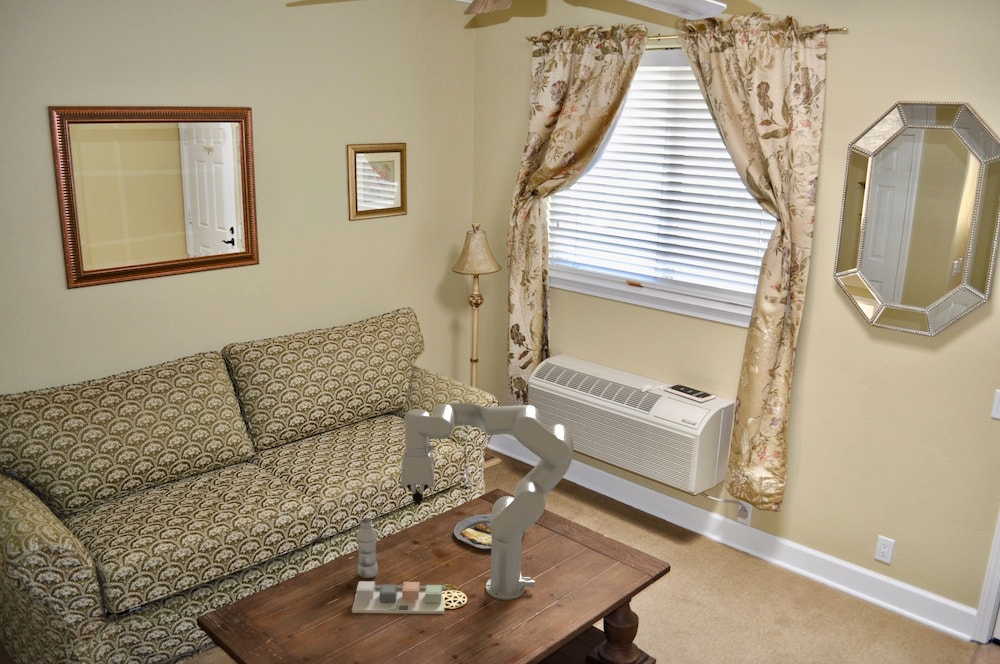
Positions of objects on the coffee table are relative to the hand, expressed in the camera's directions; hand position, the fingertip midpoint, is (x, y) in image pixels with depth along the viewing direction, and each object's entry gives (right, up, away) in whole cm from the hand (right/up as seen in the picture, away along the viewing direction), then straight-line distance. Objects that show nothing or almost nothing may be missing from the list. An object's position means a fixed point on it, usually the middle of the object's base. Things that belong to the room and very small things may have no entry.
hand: (417, 503), depth 262 cm
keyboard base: (-5, -31, -1) cm, 31 cm away
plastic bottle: (-18, -27, +13) cm, 34 cm away
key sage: (+5, -29, -1) cm, 30 cm away
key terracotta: (-2, -28, -2) cm, 28 cm away
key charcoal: (-9, -29, -2) cm, 30 cm away
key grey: (-16, -28, -2) cm, 32 cm away
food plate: (+22, -20, +39) cm, 49 cm away
